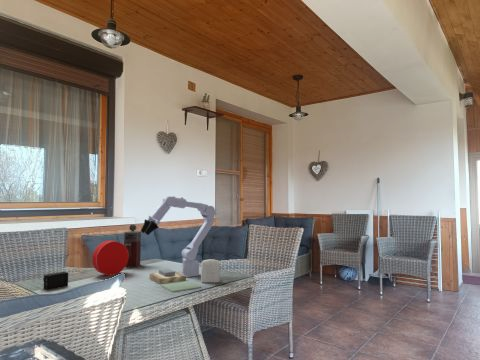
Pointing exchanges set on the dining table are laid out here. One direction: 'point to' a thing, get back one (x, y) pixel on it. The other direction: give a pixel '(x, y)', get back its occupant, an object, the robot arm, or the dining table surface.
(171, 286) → the mat
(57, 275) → the digital camera
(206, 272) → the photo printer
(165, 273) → the slate tile
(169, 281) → the deck
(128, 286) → the dining table surface
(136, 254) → the glass decanter
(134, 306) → the dining table surface
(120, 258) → the red thick disc
